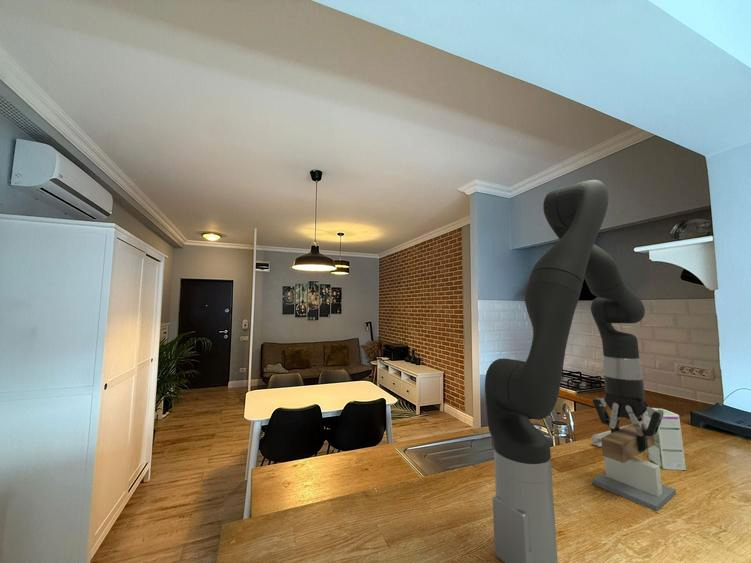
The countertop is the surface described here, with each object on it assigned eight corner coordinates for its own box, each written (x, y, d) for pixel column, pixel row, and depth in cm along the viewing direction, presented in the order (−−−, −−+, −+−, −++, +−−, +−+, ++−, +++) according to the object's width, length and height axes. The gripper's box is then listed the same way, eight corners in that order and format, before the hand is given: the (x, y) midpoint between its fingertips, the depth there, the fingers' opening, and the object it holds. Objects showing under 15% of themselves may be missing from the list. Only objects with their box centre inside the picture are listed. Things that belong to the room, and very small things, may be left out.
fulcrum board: (656, 511, 63) (653, 476, 64) (592, 483, 73) (590, 453, 74) (676, 493, 69) (672, 462, 70) (614, 470, 79) (612, 443, 80)
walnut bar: (634, 439, 78) (633, 423, 79) (654, 444, 75) (653, 428, 75) (602, 455, 69) (601, 437, 70) (623, 463, 66) (621, 444, 66)
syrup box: (687, 471, 79) (681, 414, 81) (662, 469, 80) (656, 413, 82) (669, 460, 85) (664, 408, 86) (646, 459, 86) (641, 407, 87)
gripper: (666, 378, 70) (675, 455, 68) (597, 369, 82) (602, 434, 80) (654, 382, 66) (662, 464, 64) (583, 372, 78) (589, 440, 76)
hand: (629, 447), depth 72 cm, fingers closed on walnut bar, 4 cm apart
